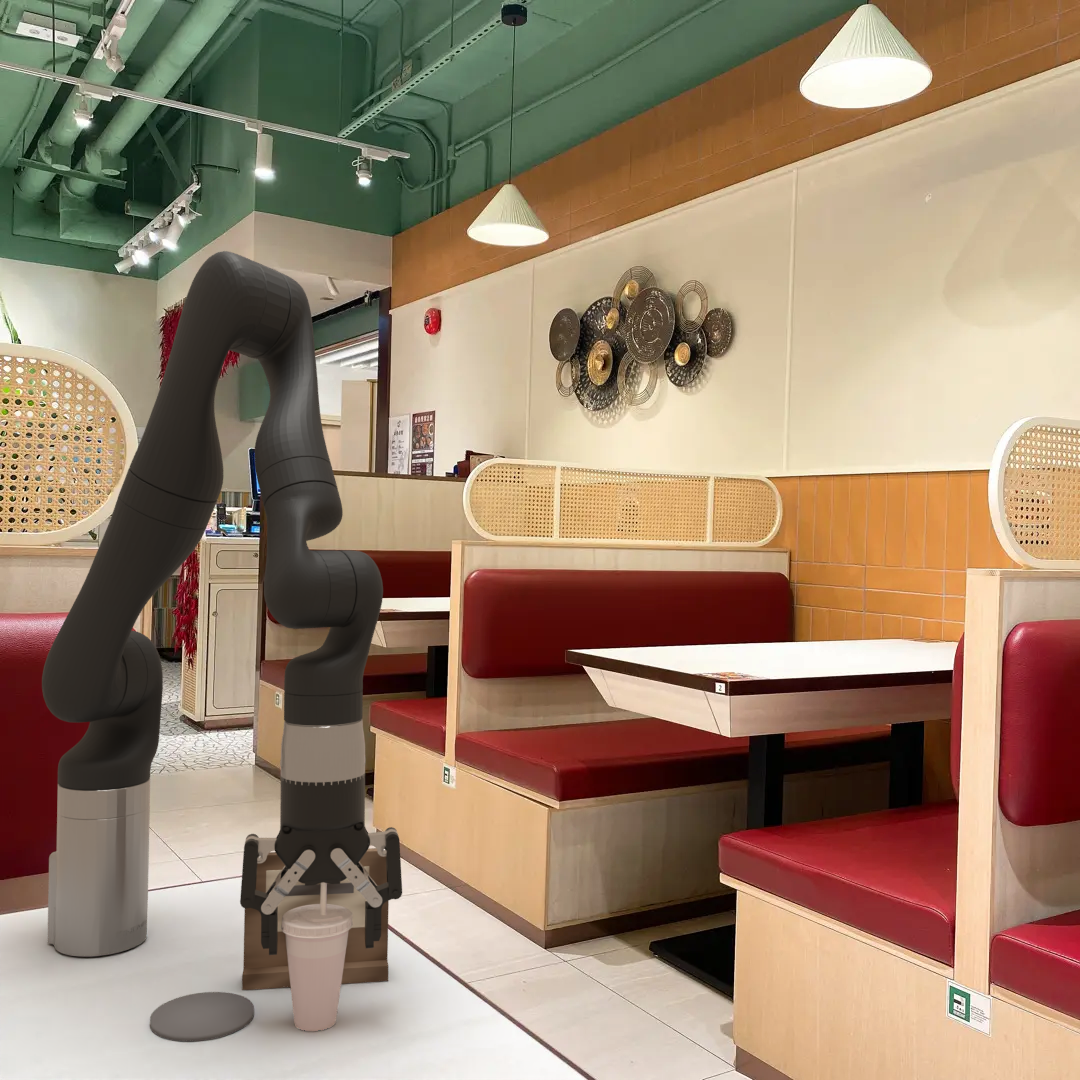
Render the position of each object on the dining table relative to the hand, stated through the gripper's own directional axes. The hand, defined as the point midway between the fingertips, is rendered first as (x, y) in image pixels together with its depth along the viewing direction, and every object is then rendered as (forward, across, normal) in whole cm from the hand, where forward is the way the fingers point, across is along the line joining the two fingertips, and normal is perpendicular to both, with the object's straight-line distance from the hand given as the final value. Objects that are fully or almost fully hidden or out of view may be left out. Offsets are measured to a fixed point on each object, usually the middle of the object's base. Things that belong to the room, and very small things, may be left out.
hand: (321, 948), depth 97 cm
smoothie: (+7, 0, 0) cm, 7 cm away
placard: (+6, 0, +10) cm, 12 cm away
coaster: (+6, -10, +2) cm, 13 cm away
